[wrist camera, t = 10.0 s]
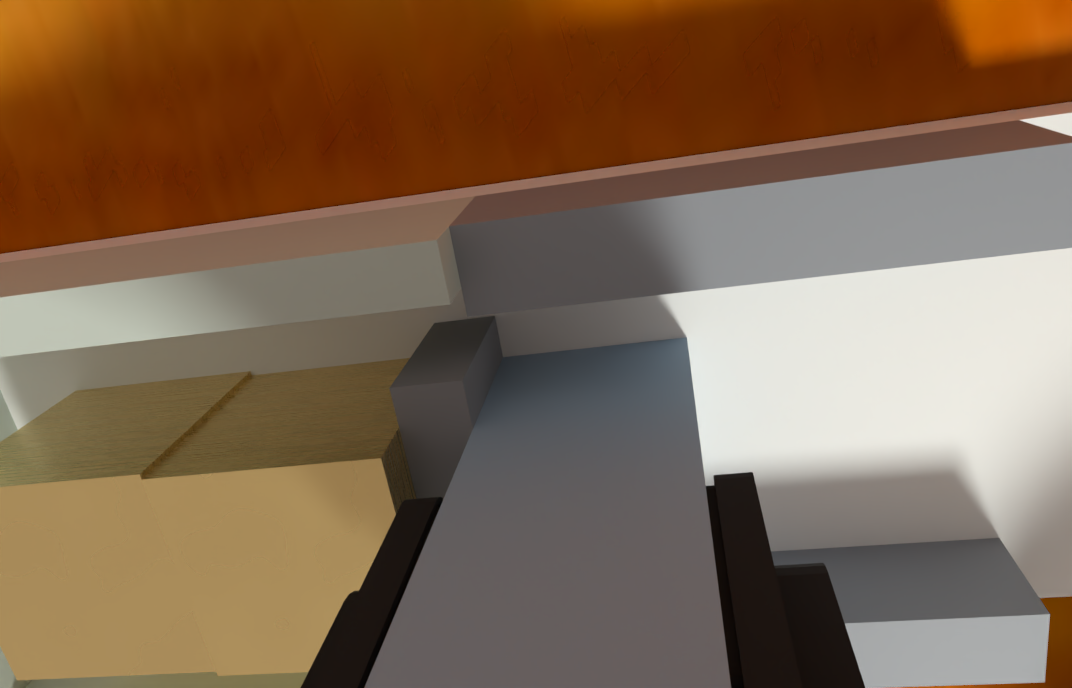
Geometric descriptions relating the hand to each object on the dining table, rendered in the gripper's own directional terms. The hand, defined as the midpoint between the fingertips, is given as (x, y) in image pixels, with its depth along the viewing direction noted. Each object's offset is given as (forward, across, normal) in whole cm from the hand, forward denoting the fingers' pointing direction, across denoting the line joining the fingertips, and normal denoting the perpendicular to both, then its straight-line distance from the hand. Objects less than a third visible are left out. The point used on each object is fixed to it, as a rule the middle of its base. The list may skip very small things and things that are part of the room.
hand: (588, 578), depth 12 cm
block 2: (+5, +5, 0) cm, 7 cm away
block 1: (+5, +9, 0) cm, 10 cm away
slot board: (+6, 0, 0) cm, 6 cm away
